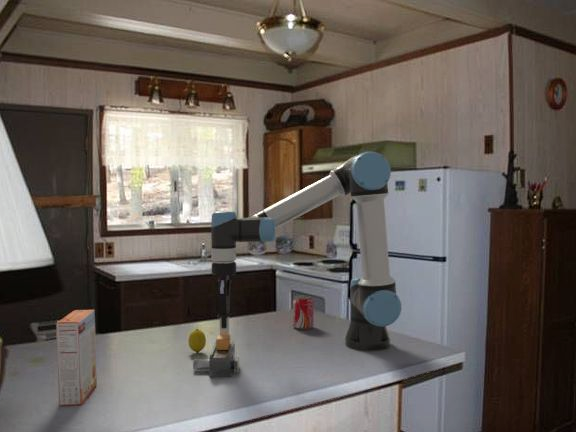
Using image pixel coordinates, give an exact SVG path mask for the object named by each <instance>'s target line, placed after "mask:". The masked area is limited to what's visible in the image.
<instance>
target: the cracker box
mask: <svg viewBox="0 0 576 432" xmlns="http://www.w3.org/2000/svg"><path fill="white" fill-rule="evenodd" d="M95 316H96V315H95V309H75V310H73V311H71V312H70V313H68V314H67V315H65V316H64V317H63V318H61V319H60V320H59V321H57V322H56V324H55V331H56V332H55V333H56V335H55V336H56V355H57V356H56V359H57V360H56V361H57V363H56V364H57V388H58V390H57V391H58V406H59V407H60V406H61V407H63V406H78V405H79V406H81V405H83V404H84V402H85V401H86V400H87V398H88V397H89V396H90V394H91V393H92V391H94V389H95V388H96V386H97V384H98V381H97V377H98V376H97V351H96V350H97V346H96V317H95Z"/></svg>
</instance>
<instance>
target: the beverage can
mask: <svg viewBox="0 0 576 432" xmlns="http://www.w3.org/2000/svg"><path fill="white" fill-rule="evenodd" d="M314 306H315V305H314V300H313V299H312V296H310V295H304V294H303V295H296V296H294V299H293V301H292V326H293V327H294V329H296V330H299V331H308V330H311V329H312V328H313V327H314V322H315V321H314V318H315V317H314V314H315V311H314Z"/></svg>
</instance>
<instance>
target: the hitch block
mask: <svg viewBox="0 0 576 432" xmlns="http://www.w3.org/2000/svg"><path fill="white" fill-rule="evenodd" d="M235 345H236V344H235V341H234V340H232V341H231V342H230V347H229V350H216V341H215V342H214V345H213V346H212V349H211V350H210V354H209V358H208V359H209V370H208V371H209V372H208V373H209V374H208V375H209V376H208V377H211V378H231V377H232V374H233V373H232V359H235V356H236V349H235V347H236V346H235Z"/></svg>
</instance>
